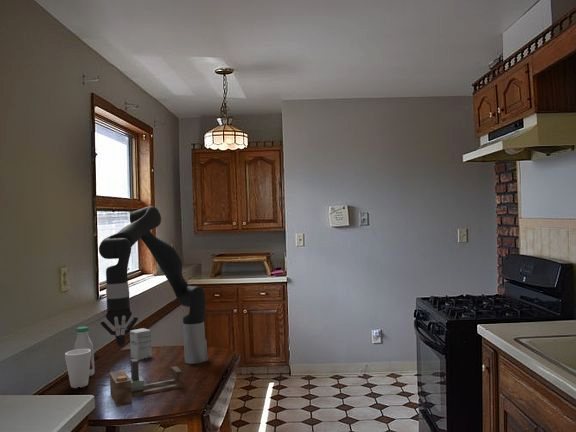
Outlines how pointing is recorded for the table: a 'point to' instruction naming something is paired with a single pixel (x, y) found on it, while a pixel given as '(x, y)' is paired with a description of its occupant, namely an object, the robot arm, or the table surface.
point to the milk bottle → (85, 345)
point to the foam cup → (78, 367)
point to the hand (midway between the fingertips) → (120, 345)
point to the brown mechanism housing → (123, 388)
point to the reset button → (121, 378)
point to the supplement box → (140, 343)
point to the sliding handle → (136, 377)
